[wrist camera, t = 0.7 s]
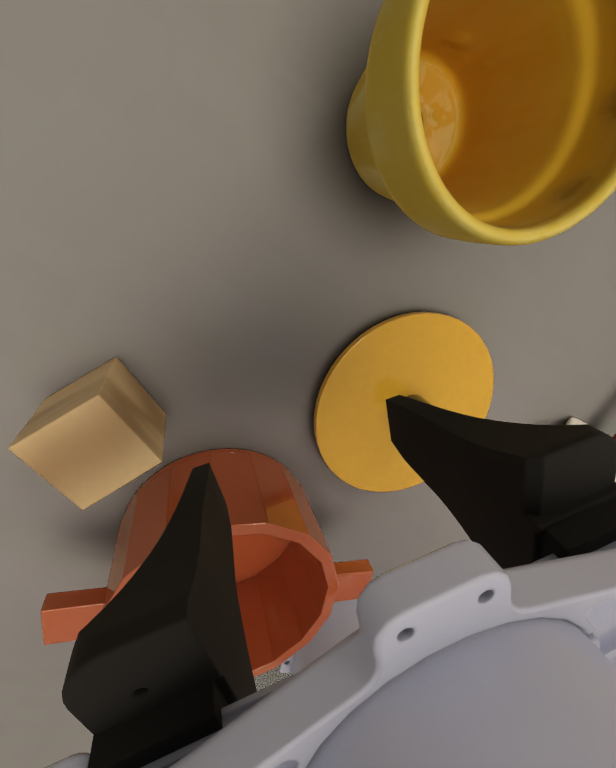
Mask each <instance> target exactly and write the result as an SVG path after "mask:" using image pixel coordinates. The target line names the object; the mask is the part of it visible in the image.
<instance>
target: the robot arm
mask: <svg viewBox="0 0 616 768" xmlns="http://www.w3.org/2000/svg"><path fill="white" fill-rule="evenodd" d="M386 408H387V415H388V422H389V429H390V436H391V441H392V443H393V444H394V446H395V447H396V449H397V450H398V452H399V453H400V454H401V456H402V457H403V459H404V460H405V461H406V462H407V463H408V464H409V466H410V467H411V468H412V469H413V470H414V471H415V472H416V473H417V474H418V475H419V476H420V477H421V479H422V480H423V481H424V482H425V483H426V484H427V485H428V486H429V487H430V488H431V489H432V490H433V491H434V492H435V494H436V495H437V496H438V497H439V498H440V499H441V500H442V501H443V503H444V504H445V505H446V506H447V507H448V509H449V510H450V511H451V513H452V514H453V515H454V517H455V518H456V519H457V521H458V522H459V523H460V525H461V526H462V528H463V529H464V530H465V532H466V533H467V535H468V536H469V537H470V539H471V540H472V541H470V540H464V541H460V542H455V543H451V544H449V545H447V546H444V547H442V548H440V549H437V550H435V551H433V552H431V553H428V554H426V555H424V556H421V557H419V558H417V559H415V560H412V561H410V562H408V563H406V564H403V565H401V566H399V567H396V568H394V569H392V570H390V571H387V572H385V573H383V574H381V575H380V576H378V577H377V578H375V579H374V580H372V581H370V582H369V583H368V584H367V585H366V587H365V588H364V589H363V591H362V592H361V593H360V595H359V597H358V599H354V600H347V601H340V602H334V604H333V608H332V611H331V614H330V616H329V618H328V619H327V620H326V622H325V623H324V624H323V625H322V627H321V628H320V629H319V631H318V632H317V633H316V635H315V636H314V637H313V639H312V640H311V641H310V642H309V643H308V644H307V645H305V646H304V647H303V648H301V649H300V650H299V651H298V652H296V653H295V654H294V655H292V656H291V657H290V658H288V659H287V660H286V661H284V662H283V663H282V664H280V666H279V669H280V672H281V673H288V672H291V676H289V677H287V678H285V679H283V680H281V681H279V682H277V683H274V684H272V685H270V686H268V687H266V688H264V689H262V690H260V691H257V690H256V686H255V681H254V677H253V672H252V667H251V662H250V657H249V653H248V648H247V643H246V638H245V632H244V627H243V622H242V617H241V611H240V606H239V601H238V595H237V588H236V578H235V566H234V553H233V540H232V528H231V522H230V518H229V513H228V508H227V504H226V501H225V499H224V496H223V494H222V491H221V489H220V487H219V484H218V482H217V480H216V477H215V475H214V473H213V470H212V468H211V466H210V463H206V464H203V465H200V466H198V467H195V468H193V469H192V471H191V473H190V475H189V478H188V481H187V483H186V486H185V488H184V491H183V493H182V495H181V498H180V500H179V502H178V504H177V507H176V509H175V511H174V513H173V515H172V517H171V519H170V521H169V523H168V524H167V526H166V528H165V530H164V532H163V534H162V535H161V537H160V539H159V540H158V542H157V543H156V545H155V547H154V548H153V550H152V551H151V552H150V554H149V555H148V557H147V558H146V559H145V561H144V562H143V563H142V565H141V566H140V567H139V568H138V570H137V571H136V572H135V574H134V575H133V576H132V577H131V579H130V580H129V581H128V582H127V583H126V585H125V586H124V587H123V588H122V589H121V590H120V591H119V592H118V594H117V595H116V596H115V597H114V598H113V599H112V600H111V601H110V602H109V603H108V604H107V605H106V606H105V607H104V608H103V609H102V610H101V611H100V612H99V613H98V614H97V615H96V616H95V617H94V618H93V619H92V620H91V621H90V622H89V623H88V624H87V625H86V626H85V627H84V628H83V629H82V630H80V631H79V633H78V636H77V639H76V642H75V645H74V648H73V651H72V655H71V658H70V662H69V666H68V670H67V674H66V678H65V682H64V686H63V690H62V699H63V703H64V705H65V706H66V708H67V709H68V710H69V711H70V712H71V713H72V714H73V715H74V716H75V717H76V718H77V719H78V720H79V721H80V722H81V723H82V724H83V725H84V726H85V727H86V728H87V729H88V730H89V731H90V732H91V733H93V734H94V736H93V742H92V747H91V753H90V754H89V753H78V754H74V755H71V756H69V757H67V758H65V759H62V760H60V761H58V762H56V763H54V764H51V765H49V766H47V767H45V768H616V482H615V478H616V440H615V439H614V438H613V437H611V436H609V435H607V434H605V433H604V432H602V431H600V430H598V429H596V428H594V427H592V426H590V425H588V424H581V425H533V424H519V423H510V422H501V421H494V420H489V419H483V418H478V417H473V416H468V415H464V414H461V413H457V412H453V411H449V410H446V409H443V408H439V407H436V406H433V405H430V404H427V403H424V402H421V401H418V400H415V399H412V398H409V397H406V396H402V395H397V396H394V397H391V398H389V399H386Z"/></svg>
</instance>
